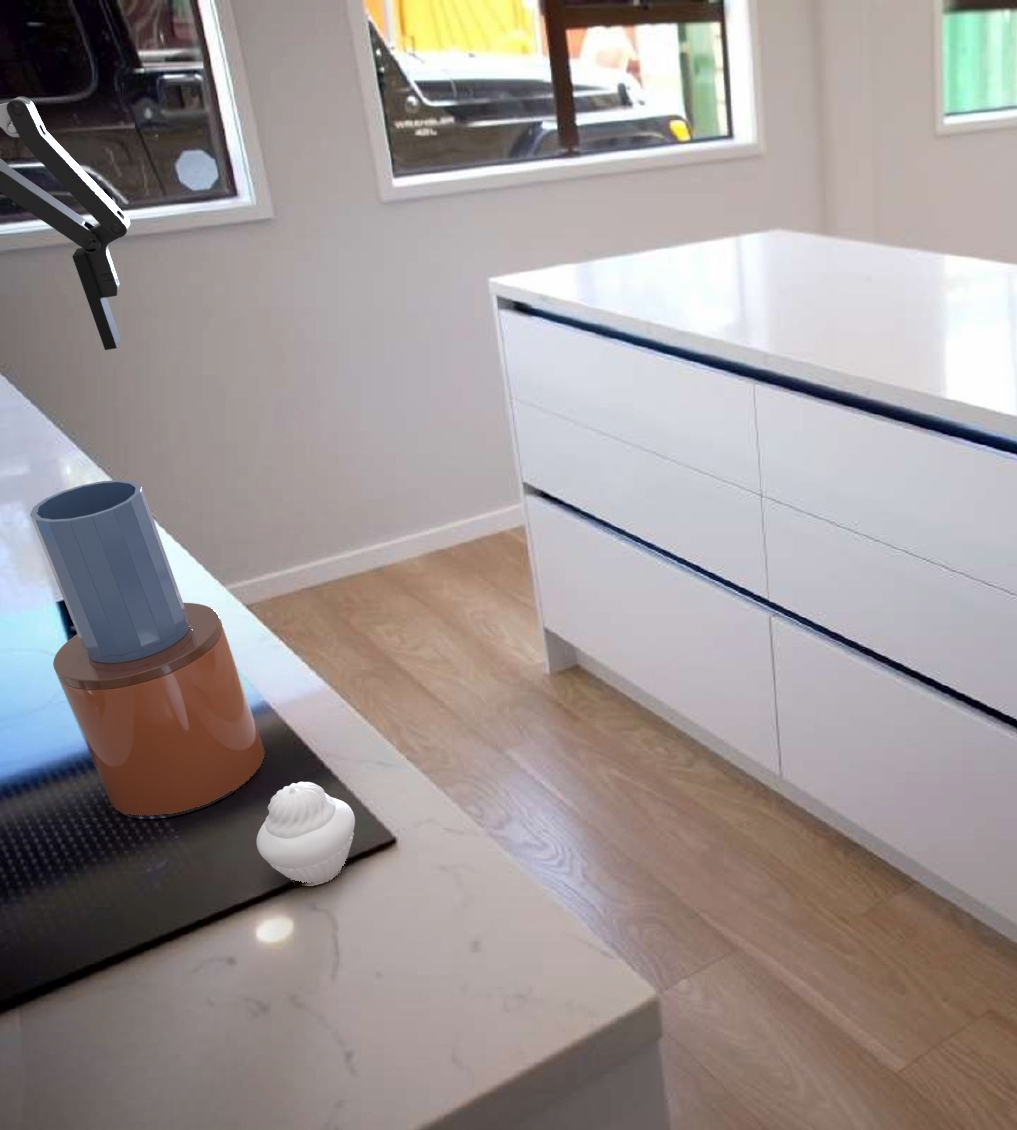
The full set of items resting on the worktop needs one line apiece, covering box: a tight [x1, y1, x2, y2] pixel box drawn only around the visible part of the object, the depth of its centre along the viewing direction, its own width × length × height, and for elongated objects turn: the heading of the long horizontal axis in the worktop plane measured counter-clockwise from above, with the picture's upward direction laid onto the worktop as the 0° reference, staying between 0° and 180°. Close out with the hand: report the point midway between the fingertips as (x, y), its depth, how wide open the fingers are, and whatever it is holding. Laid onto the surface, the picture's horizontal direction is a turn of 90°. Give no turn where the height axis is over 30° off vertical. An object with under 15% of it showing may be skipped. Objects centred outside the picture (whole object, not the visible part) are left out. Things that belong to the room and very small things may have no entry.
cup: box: [29, 479, 190, 663], centre depth 90 cm, size 7×7×11 cm
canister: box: [52, 602, 266, 816], centre depth 95 cm, size 11×11×12 cm
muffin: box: [256, 781, 356, 883], centre depth 85 cm, size 6×6×7 cm
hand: (4, 362), depth 88 cm, fingers open, 13 cm apart
